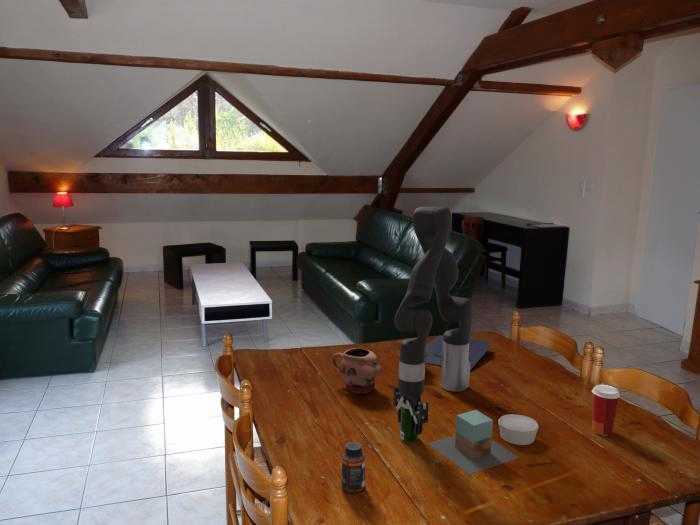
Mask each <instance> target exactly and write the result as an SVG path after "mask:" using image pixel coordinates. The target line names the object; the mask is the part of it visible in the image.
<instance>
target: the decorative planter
mask: <svg viewBox="0 0 700 525" xmlns="http://www.w3.org/2000/svg"><path fill="white" fill-rule="evenodd" d="M337 359H340V360H341V362H340V364H339V366H338V364H337V363H336V361H337ZM331 361H332V362H331V363H332V364H333V367H335V368H336V369H337V370H338V371H339V372H340V375H341V376H342V379H343V381H344V383H345V387H346V390H348V391H349V392H352V393H356V394H369V393H371V392H373V391H374V389H375V386H376V381H375V379H376V378H377V377H378V376H380V375H382V373H383V368H382V367H381V364H380V361H379V358H378V356H377V355H376V353H374V352H373V351H371V350H368V349H366V348H361V347H356V348H355V347H353V348H349V349H347V350H345V351H344V352H343V353H342V352H336V353H334V354H333V355H332V357H331Z"/></svg>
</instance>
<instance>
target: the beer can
mask: <svg viewBox="0 0 700 525" xmlns="http://www.w3.org/2000/svg"><path fill="white" fill-rule="evenodd" d="M417 411H419V410H418V409H415V410H414V412H417ZM417 418H418V419H419V415H417ZM399 424H400V430H399V433H400V434H399V438H400V440H401V441H403V442H405V443H409V444H410V443H415V442H418V440H419V436H420V435H415V434H414V425H415V421H414V418H413V416H412V415H411V413H410V410H409V407H408V406H407V403H406V401H404V402H402V403H401V423H399Z"/></svg>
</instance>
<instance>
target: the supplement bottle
mask: <svg viewBox="0 0 700 525" xmlns="http://www.w3.org/2000/svg"><path fill="white" fill-rule="evenodd" d="M362 447H363V445H362V444H361V443H359V442H356V441H351V442H348V443H346V444H345V450H344V452H343V453H342V455H341V487H342V490H344V491H345V492H348V493H351V494H355V493H359V492H362V491H363V490H364V489H365V487H366V454H365V452H364V451H363V448H362Z"/></svg>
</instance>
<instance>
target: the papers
mask: <svg viewBox="0 0 700 525" xmlns="http://www.w3.org/2000/svg"><path fill="white" fill-rule="evenodd" d="M490 343H491V341H489V340H483V339H479V338H473V337H470V341H469V358H468V361H469V362H470V371H471V370H472V369H473V368H474V367H475V366H476V364H477V363H478V362H479V360H481V359H482V357H483V356H484V355H485V354H486V353H487V352H488V350H489V349H490V348H489V347H490V346H491V344H490ZM425 350H426V353H427V357H426V364H430V365H435V366H440V367H442V352H443V335H441V334H439V335H438V336H436V337H435V338H433V339H432V340H430V342H428V343H427V344H426V346H425Z"/></svg>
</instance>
